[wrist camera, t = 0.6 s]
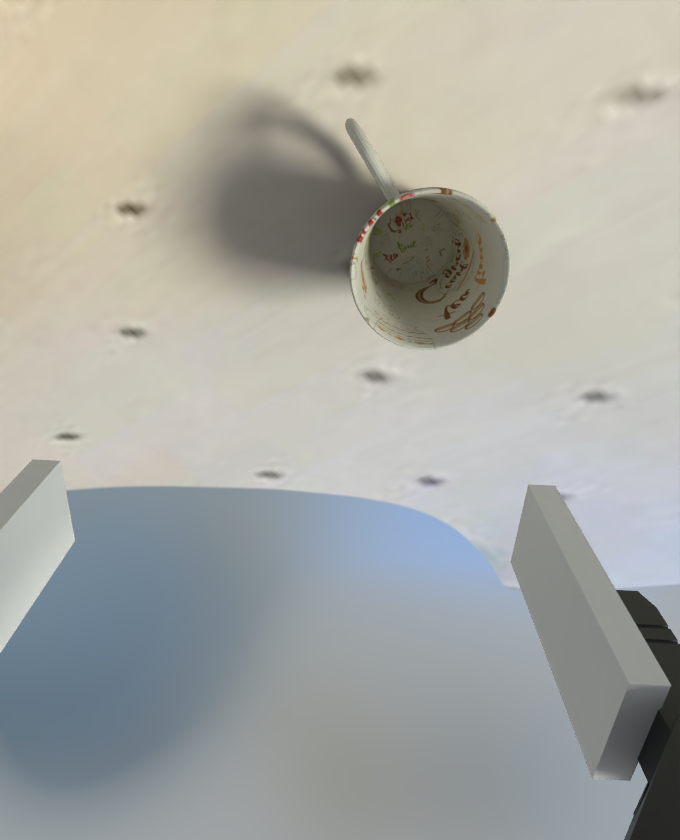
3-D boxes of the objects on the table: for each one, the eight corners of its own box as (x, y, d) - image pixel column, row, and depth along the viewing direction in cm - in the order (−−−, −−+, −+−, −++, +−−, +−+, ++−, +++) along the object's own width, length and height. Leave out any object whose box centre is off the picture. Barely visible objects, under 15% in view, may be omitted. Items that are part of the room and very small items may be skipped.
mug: (390, 324, 42) (402, 377, 33) (287, 164, 37) (268, 176, 28) (495, 259, 40) (538, 297, 31) (400, 81, 35) (418, 65, 26)
